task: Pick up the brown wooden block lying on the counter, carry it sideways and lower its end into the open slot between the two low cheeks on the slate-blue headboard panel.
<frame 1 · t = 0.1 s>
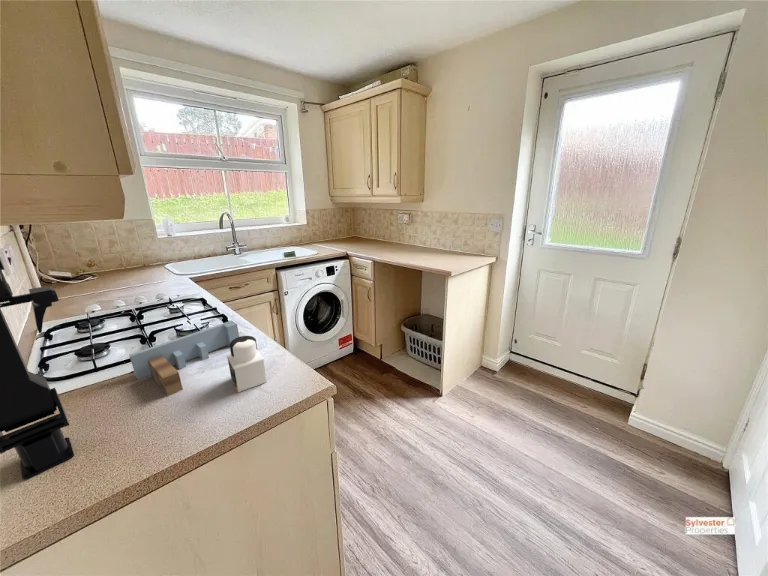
hand: (10, 339, 70), 15 cm above the worktop, fingers open, 9 cm apart
medicine bottle: (249, 381, 80), on the worktop
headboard: (192, 361, 88), on the worktop
brown wooden block: (167, 382, 79), on the worktop
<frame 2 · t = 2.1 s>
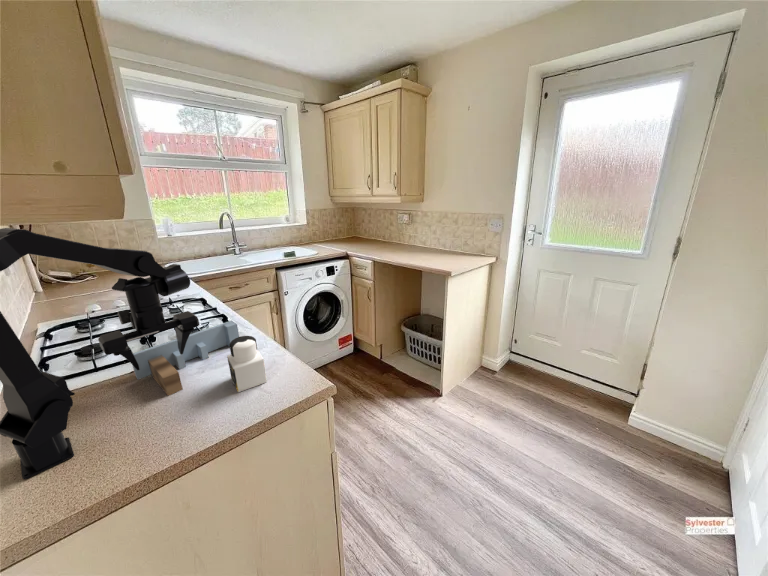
hand: (160, 361, 77), 6 cm above the worktop, fingers open, 9 cm apart
nothing on the worktop moved.
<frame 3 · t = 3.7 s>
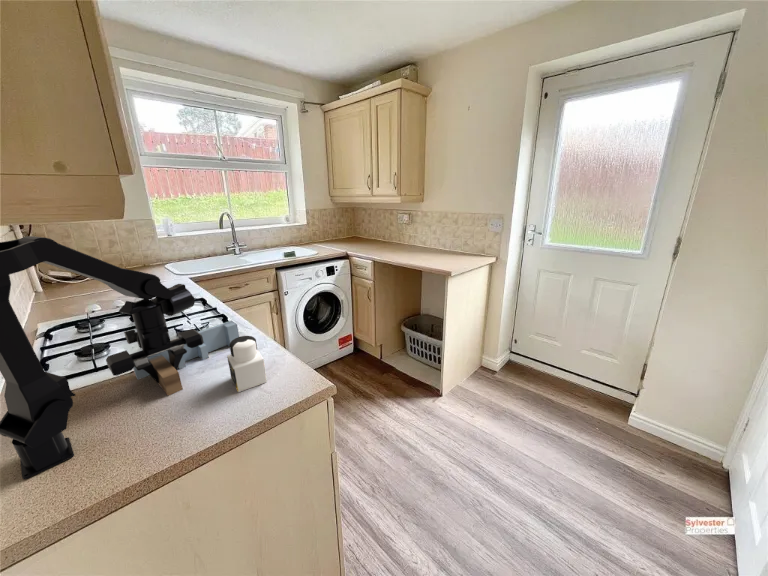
hand: (166, 379, 79), 1 cm above the worktop, fingers closed on brown wooden block, 3 cm apart
brown wooden block: (167, 382, 79), on the worktop, touching gripper
everything else where it was.
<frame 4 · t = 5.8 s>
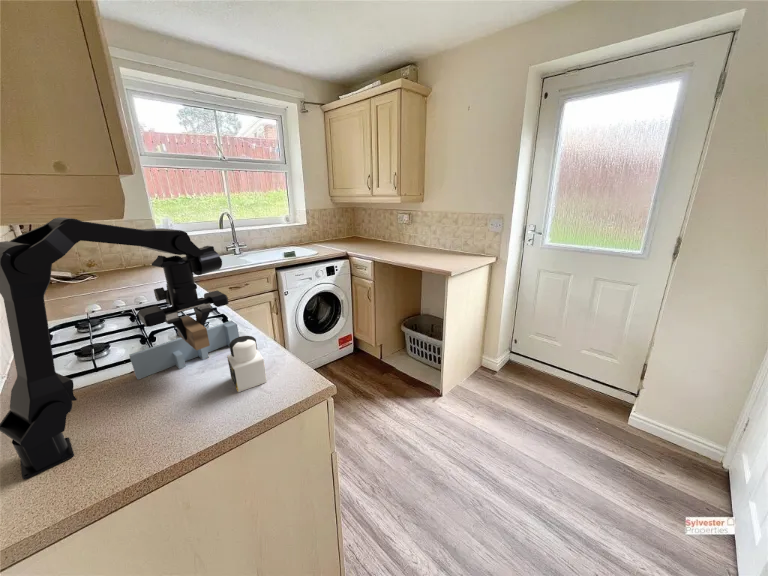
hand: (193, 336, 81), 10 cm above the worktop, fingers closed on brown wooden block, 3 cm apart
brown wooden block: (193, 340, 82), point 9 cm above the worktop, touching gripper
everything else where it was.
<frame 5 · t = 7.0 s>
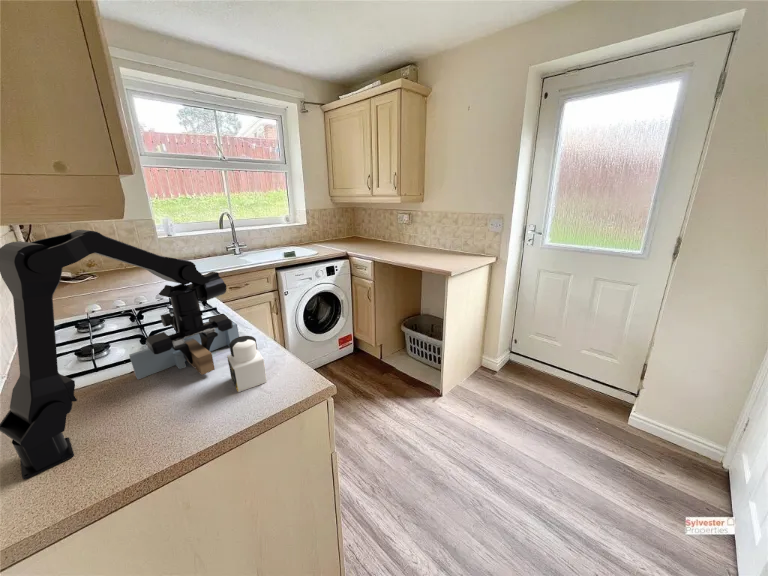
hand: (198, 360, 84), 3 cm above the worktop, fingers closed on brown wooden block, 3 cm apart
brown wooden block: (199, 363, 84), point 2 cm above the worktop, touching gripper
everything else where it was.
when the fingers open (2 cm above the worktop, at t = 8.0 s): brown wooden block drops 1 cm, on the worktop.
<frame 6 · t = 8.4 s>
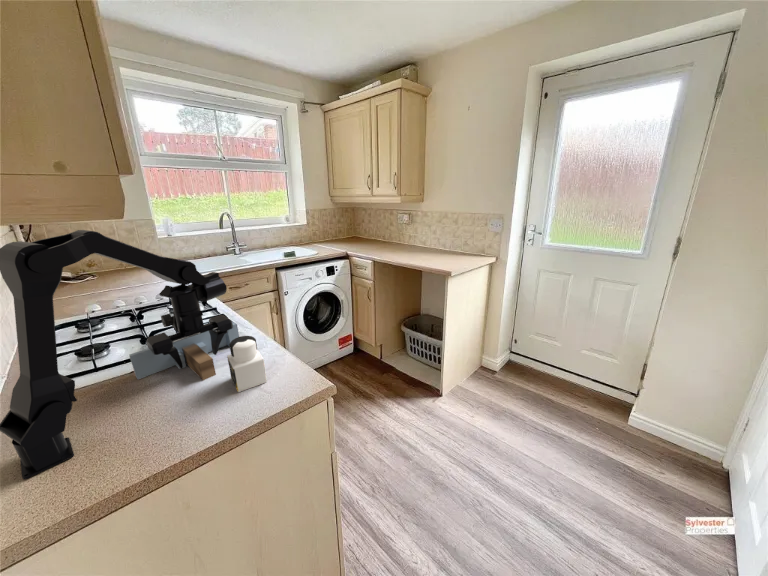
hand: (198, 360, 84), 2 cm above the worktop, fingers open, 8 cm apart
brown wooden block: (200, 368, 85), on the worktop
everything else where it was.
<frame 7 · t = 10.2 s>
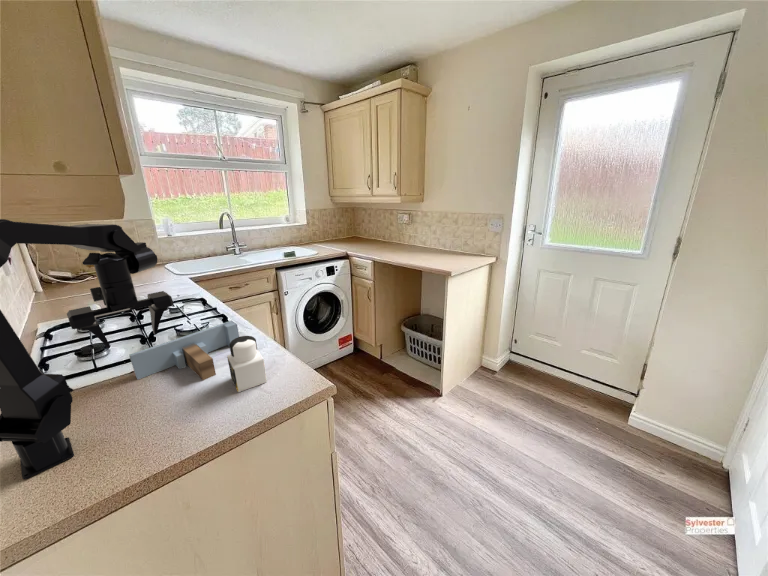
hand: (132, 340, 76), 12 cm above the worktop, fingers open, 9 cm apart
nothing on the worktop moved.
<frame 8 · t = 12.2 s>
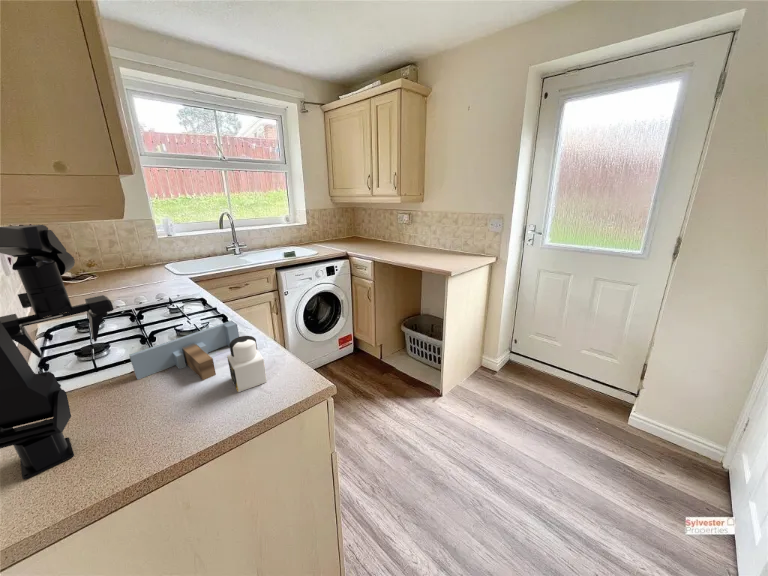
hand: (68, 348, 71), 12 cm above the worktop, fingers open, 9 cm apart
nothing on the worktop moved.
at the end: brown wooden block 0.2 cm from the target spot on the worktop beside the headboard, on the worktop; brown wooden block tilted 0°; the gripper is holding nothing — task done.
